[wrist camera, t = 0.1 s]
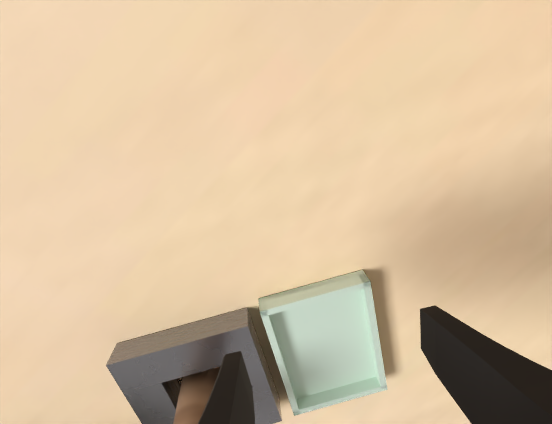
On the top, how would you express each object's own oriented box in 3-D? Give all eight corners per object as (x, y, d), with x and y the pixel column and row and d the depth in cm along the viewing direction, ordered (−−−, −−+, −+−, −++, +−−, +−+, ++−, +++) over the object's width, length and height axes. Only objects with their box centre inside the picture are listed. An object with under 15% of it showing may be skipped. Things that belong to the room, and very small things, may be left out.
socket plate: (279, 398, 27) (281, 420, 25) (166, 429, 27) (161, 454, 25) (247, 307, 23) (247, 326, 21) (116, 343, 23) (105, 365, 21)
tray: (379, 374, 27) (387, 389, 26) (291, 399, 27) (294, 415, 26) (362, 269, 23) (370, 281, 22) (258, 298, 23) (259, 311, 22)
